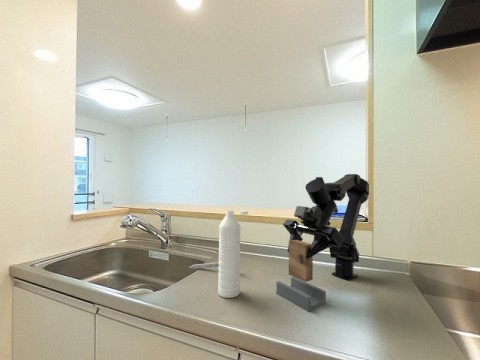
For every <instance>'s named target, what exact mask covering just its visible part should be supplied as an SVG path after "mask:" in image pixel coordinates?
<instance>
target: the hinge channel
mask: <svg viewBox="0 0 480 360" xmlns="http://www.w3.org/2000/svg"><path fill="white" fill-rule="evenodd" d="M275 291H276V295H278V296H280V297H282V298H283V299H285V300H287V301H289V302H291V303H292V304H294V305H296V306H297V307H299V308H301V309H302V310H304V311H306V312H310V311H313V310H315V309H318V308H319V307H321V306H324V305H326V303H327V302H326V301H327V299H326V298H327V293H326V290H323V289H322V288H320V287H317V286H315V285H313V284H310V283H309V282H304V281H302V280H300V279H298V278H295V277H293V276H291V277H290V285H289V284H286V283H284V282H282V281H281V280H277V281H276V290H275Z"/></svg>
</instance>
